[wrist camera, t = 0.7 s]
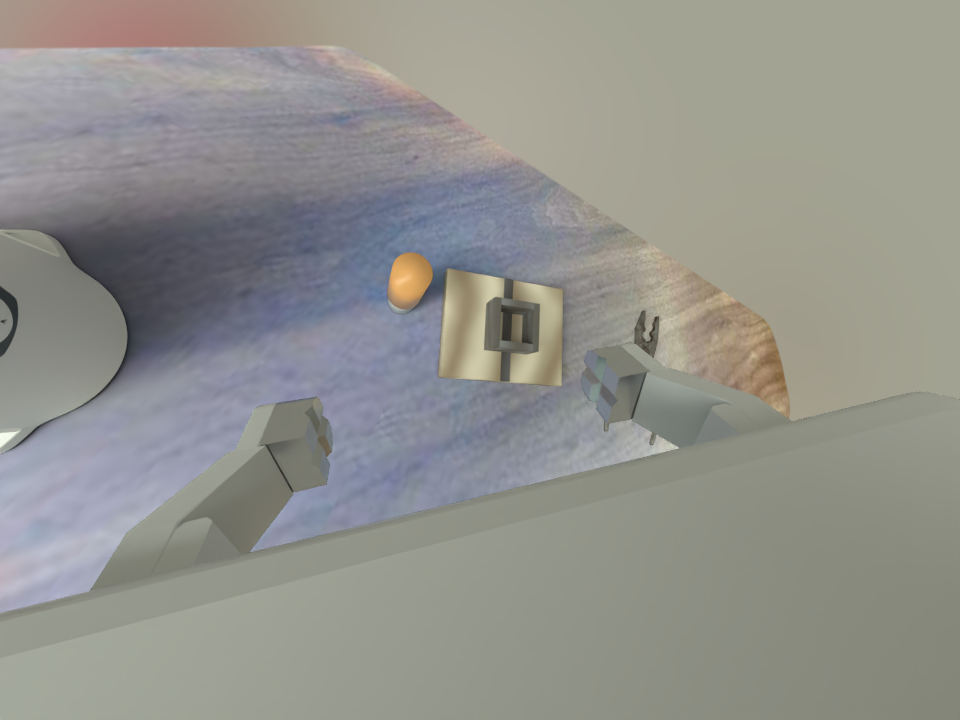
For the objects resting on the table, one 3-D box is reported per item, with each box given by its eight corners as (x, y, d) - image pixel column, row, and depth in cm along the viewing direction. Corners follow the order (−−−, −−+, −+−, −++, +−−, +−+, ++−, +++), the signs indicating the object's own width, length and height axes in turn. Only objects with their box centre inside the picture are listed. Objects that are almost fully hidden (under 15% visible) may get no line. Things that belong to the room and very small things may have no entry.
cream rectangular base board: (437, 377, 40) (446, 374, 36) (444, 272, 42) (454, 258, 38) (555, 386, 45) (575, 384, 41) (557, 292, 47) (576, 282, 43)
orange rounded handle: (383, 314, 39) (390, 288, 29) (386, 284, 39) (394, 249, 30) (414, 318, 40) (431, 294, 31) (417, 289, 40) (434, 256, 31)
